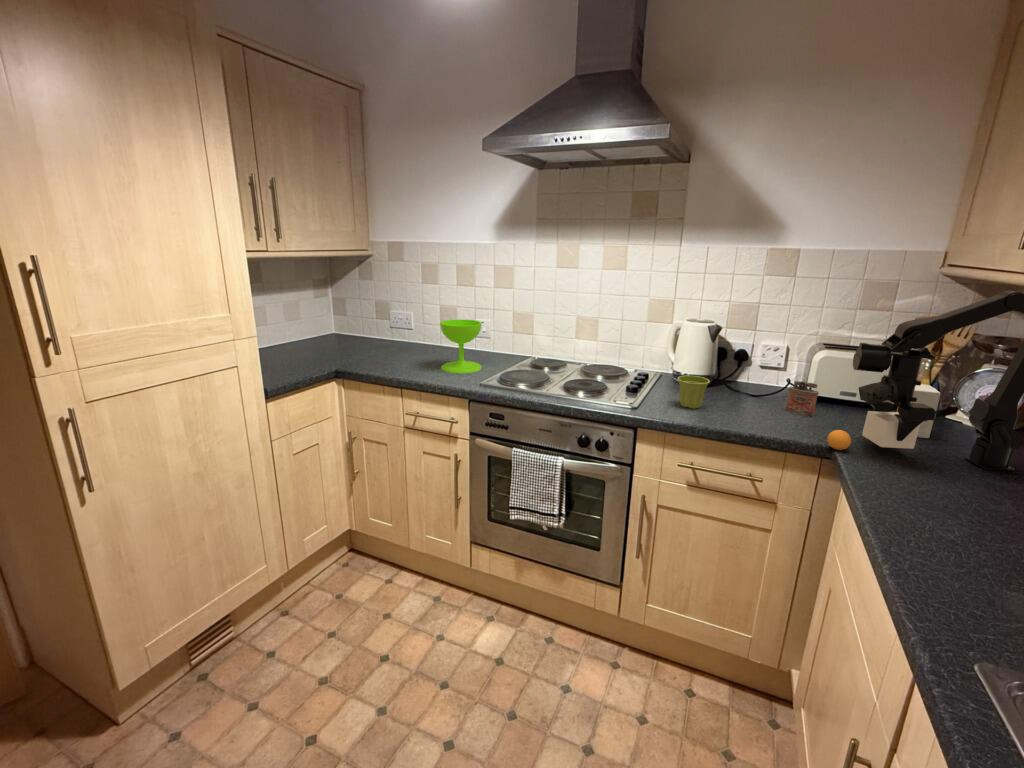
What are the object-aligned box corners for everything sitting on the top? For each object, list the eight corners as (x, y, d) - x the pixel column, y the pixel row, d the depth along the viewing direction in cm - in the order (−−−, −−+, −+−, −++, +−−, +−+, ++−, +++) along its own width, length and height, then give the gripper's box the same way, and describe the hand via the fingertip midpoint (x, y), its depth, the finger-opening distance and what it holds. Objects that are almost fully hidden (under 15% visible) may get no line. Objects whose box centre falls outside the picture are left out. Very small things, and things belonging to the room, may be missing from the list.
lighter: (783, 410, 156) (788, 379, 153) (786, 408, 158) (792, 377, 155) (812, 417, 151) (818, 385, 148) (815, 414, 153) (821, 383, 150)
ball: (819, 439, 130) (835, 448, 131) (829, 447, 125) (846, 456, 126) (832, 423, 129) (848, 432, 129) (843, 430, 124) (859, 440, 124)
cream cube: (892, 436, 130) (899, 412, 128) (913, 448, 123) (920, 423, 121) (861, 435, 130) (867, 411, 129) (880, 446, 123) (887, 421, 121)
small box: (892, 425, 145) (903, 382, 142) (919, 428, 143) (930, 384, 139) (901, 435, 138) (912, 389, 134) (929, 438, 136) (942, 392, 132)
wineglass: (489, 366, 202) (489, 322, 197) (465, 375, 189) (464, 327, 184) (457, 361, 210) (457, 318, 205) (432, 369, 197) (431, 323, 192)
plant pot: (684, 411, 154) (687, 384, 151) (669, 401, 163) (672, 375, 160) (712, 409, 156) (715, 382, 153) (695, 400, 165) (698, 374, 162)
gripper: (846, 363, 131) (834, 420, 135) (893, 384, 113) (878, 448, 117) (891, 365, 130) (877, 421, 135) (945, 385, 112) (928, 450, 117)
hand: (888, 434), depth 126 cm, fingers closed on cream cube, 8 cm apart
